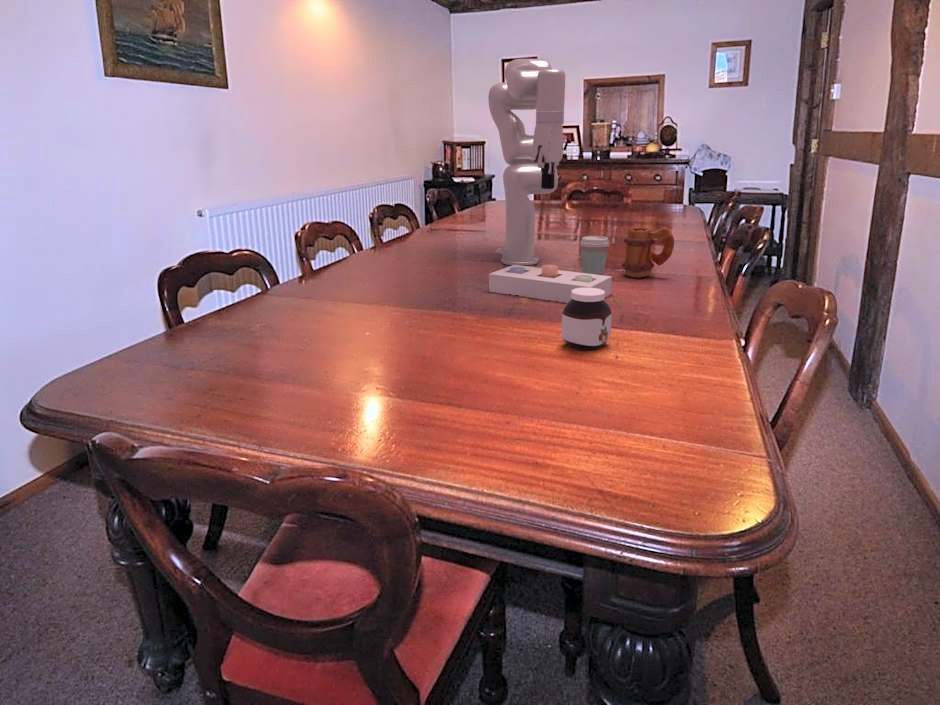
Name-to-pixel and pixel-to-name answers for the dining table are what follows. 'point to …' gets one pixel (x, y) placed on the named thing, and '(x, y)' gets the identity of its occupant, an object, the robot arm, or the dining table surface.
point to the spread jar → (586, 319)
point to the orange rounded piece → (549, 271)
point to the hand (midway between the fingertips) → (547, 188)
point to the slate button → (517, 270)
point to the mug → (646, 250)
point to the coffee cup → (594, 254)
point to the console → (544, 283)
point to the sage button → (583, 278)
